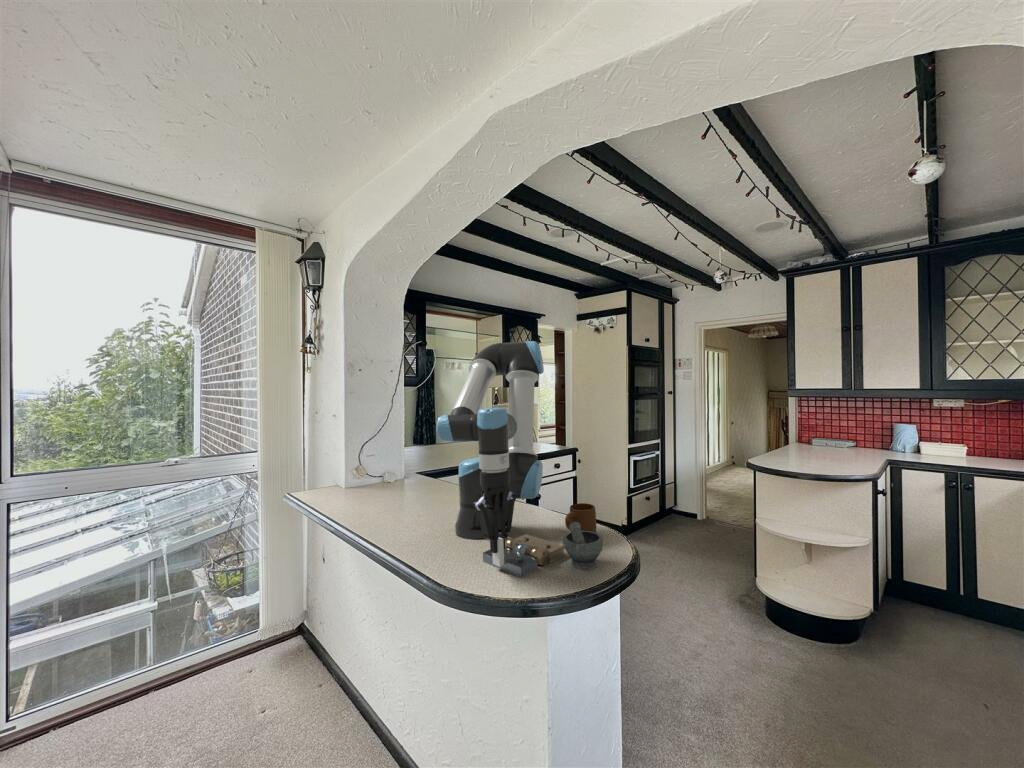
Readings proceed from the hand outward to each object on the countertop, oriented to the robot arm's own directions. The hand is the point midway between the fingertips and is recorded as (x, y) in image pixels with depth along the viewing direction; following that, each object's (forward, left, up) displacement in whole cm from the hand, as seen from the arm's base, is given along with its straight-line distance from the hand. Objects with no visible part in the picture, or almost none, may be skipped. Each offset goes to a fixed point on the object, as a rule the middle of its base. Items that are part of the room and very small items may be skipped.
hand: (498, 564), depth 102 cm
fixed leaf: (0, +12, -1) cm, 12 cm away
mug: (+4, +28, -2) cm, 29 cm away
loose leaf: (0, +6, -2) cm, 6 cm away
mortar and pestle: (+14, +15, -2) cm, 21 cm away
